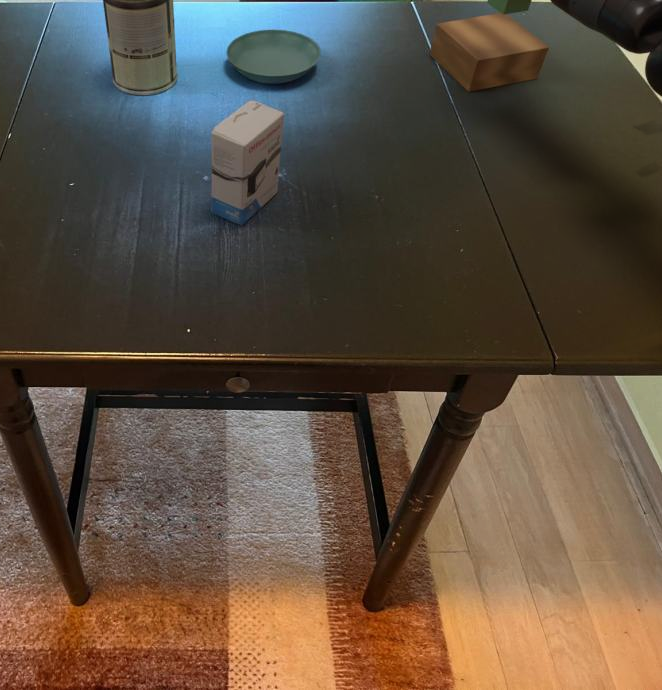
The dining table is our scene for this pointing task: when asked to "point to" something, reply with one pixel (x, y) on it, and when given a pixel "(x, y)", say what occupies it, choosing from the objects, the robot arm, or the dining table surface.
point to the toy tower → (510, 5)
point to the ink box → (246, 161)
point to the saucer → (273, 55)
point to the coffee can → (141, 45)
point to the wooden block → (487, 51)
